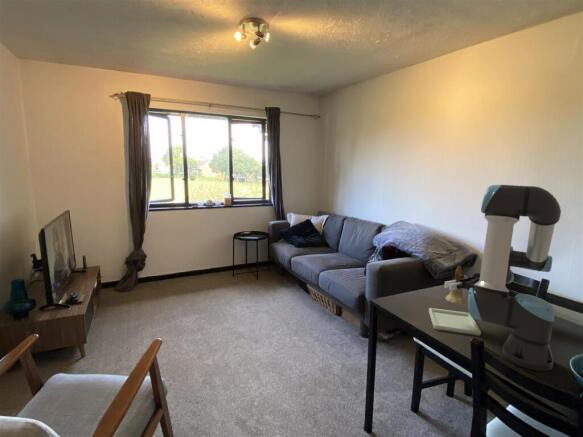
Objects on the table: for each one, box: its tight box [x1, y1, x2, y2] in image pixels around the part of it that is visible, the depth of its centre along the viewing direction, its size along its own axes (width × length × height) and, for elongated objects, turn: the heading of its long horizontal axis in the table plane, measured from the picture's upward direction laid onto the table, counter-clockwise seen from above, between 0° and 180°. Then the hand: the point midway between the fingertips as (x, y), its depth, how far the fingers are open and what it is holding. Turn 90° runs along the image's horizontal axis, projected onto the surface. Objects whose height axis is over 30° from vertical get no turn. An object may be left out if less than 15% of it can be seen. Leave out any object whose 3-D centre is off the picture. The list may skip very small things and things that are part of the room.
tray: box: [428, 307, 482, 337], centre depth 145 cm, size 18×18×2 cm
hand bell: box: [445, 265, 467, 305], centre depth 142 cm, size 8×8×16 cm
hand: (447, 286), depth 140 cm, fingers closed on hand bell, 2 cm apart
